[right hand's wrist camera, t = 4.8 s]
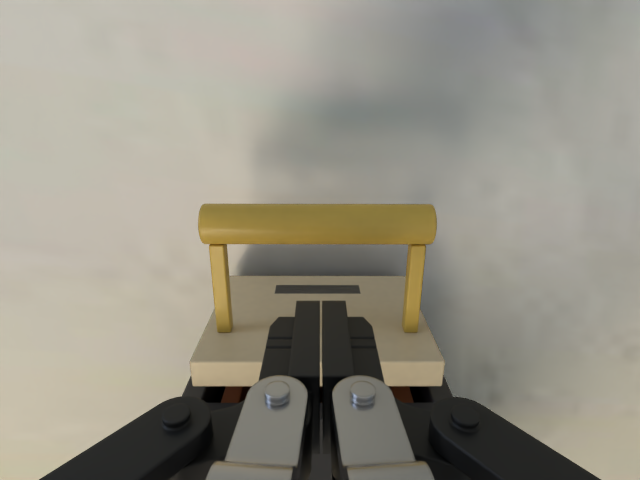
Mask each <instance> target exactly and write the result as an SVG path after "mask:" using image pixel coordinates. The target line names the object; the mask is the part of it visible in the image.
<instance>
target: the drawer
mask: <svg viewBox="0 0 640 480" xmlns="http://www.w3.org/2000/svg"><path fill="white" fill-rule="evenodd" d="M198 229H199V235H200V239H201V241H202V243H204V244H210V245H209V251H210V262H211V273H212V283H213V294H214V304H215V309H214V311H213V313H212V315H211V317H210V320H209V322H208V324H207V326H206V328H205V330H204V332H203V335H202V337H201V339H200V341H199V343H198V345H197V347H196V349H195V352H194V354H193V356H192V358H191V360H190V369H191V377H192V385H193V386H226V387H225V391H224V394H223V397H222V400H221V403H240V402H242V401H244V400H245V399H246V396H247V393H248V391H249V389H250V388H251V387H252V386H253V385H254V384H255V383H256V382H258V381H259V376H260V371H261V367H262V362H263V357H264V352H265V349H266V343H267V339H268V333H269V328H270V326H271V325H272V324H273V322H274V321H275V320H276V319H277V318H278V317H295V309H296V301H320V403H322V301H346V308H347V316H348V317H364V318H365V319H366V320H367V321H368V322H369V323H370V324H371V325H372V327H373V332H374V337H375V341H376V346H377V350H378V355H379V360H380V364H381V369H382V373H383V378H384V382H385V384H386V385H387V386H388V387H389V388H390V389H391V391H392V393H393V396H394V397H395V398H397V399H398V400H399V401H401V402H403V403H414V401H413V398H412V395H411V391H410V388H409V386H442V381H443V373H444V365H445V361H444V359H443V357H442V355H441V352H440V350H439V348H438V346H437V344H436V342H435V340H434V337H433V335H432V333H431V331H430V329H429V327H428V325H427V322H426V320H425V318H424V316H423V314H422V312H421V310H420V303H421V293H422V282H423V272H424V262H425V252H426V246H425V244H432V243H433V241H434V239H435V236H436V229H437V218H436V212H435V209H434V206H433V205H431V204H203V205H202V206H201V208H200V212H199V218H198ZM227 244H408V255H407V268H406V277H405V276H230V277H229V267H228V254H227Z"/></svg>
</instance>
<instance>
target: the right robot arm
mask: <svg viewBox="0 0 640 480" xmlns="http://www.w3.org/2000/svg"><path fill="white" fill-rule="evenodd" d="M322 433H323V454H331V480H601V479H599V478H597V477H596V476H594V475H593V474H591V473H589V472H588V471H586V470H585V469H583V468H581V467H580V466H578V465H577V464H575V463H573V462H572V461H570V460H569V459H567V458H566V457H564V456H562V455H561V454H559V453H558V452H556V451H554V450H553V449H551V448H550V447H548V446H546V445H545V444H543V443H542V442H540V441H538V440H537V439H535V438H534V437H532V436H531V435H529V434H527V433H526V432H524V431H523V430H521V429H519V428H518V427H516V426H515V425H513V424H511V423H510V422H508V421H507V420H505V419H503V418H502V417H500V416H499V415H497V414H495V413H494V412H492V411H491V410H489V409H488V408H486V407H484V406H483V405H481V404H479V403H477V402H475V401H472V400H469V399H466V398H460V397H449V398H444V399H441V400H439V401H438V402H436V403H435V404H434V406H433V407H432V409H431V411H429V410H425V409H421V408H417V407H414V406H410V405H408V404H405V403H403V402H401V401H399V400H398V399H397V398H395V397H394V396H393V393H392V391H391V389H390V388H389V387H388V386H387V385H386V384H385V382H384V378H383V373H382V369H381V364H380V360H379V355H378V350H377V346H376V341H375V337H374V332H373V327H372V325H371V324H370V323H369V322H368V321H367V320H366V319H365V318H364V317H348V316H347V308H346V301H322ZM312 454H320V301H296V309H295V317H278V318H277V319H276V320H275V321H274V322H273V324H272V325H271V326H270V328H269V333H268V339H267V343H266V349H265V352H264V357H263V362H262V367H261V371H260V376H259V381H258V382H256V383H255V384H254V385H253V386H252V387H251V388H250V389H249V391H248V393H247V396H246V399H245V400H244V401H242V402H240V403H238V404H236V405H233V406H230V407H226V408H222V409H218V410H214V411H211V410H210V407H209V405H208V404H207V403H206V402H205V401H204V400H202V399H200V398H197V397H192V396H182V397H176V398H172V399H169V400H167V401H164V402H162V403H161V404H159V405H157V406H156V407H154V408H152V409H151V410H149V411H148V412H146V413H145V414H143V415H141V416H140V417H138V418H137V419H135V420H133V421H132V422H130V423H129V424H127V425H125V426H124V427H122V428H121V429H119V430H117V431H116V432H114V433H113V434H111V435H110V436H108V437H106V438H105V439H103V440H102V441H100V442H98V443H97V444H95V445H94V446H92V447H90V448H89V449H87V450H86V451H84V452H82V453H81V454H79V455H78V456H76V457H74V458H73V459H71V460H70V461H68V462H67V463H65V464H63V465H62V466H60V467H59V468H57V469H55V470H54V471H52V472H51V473H49V474H47V475H46V476H44V477H43V478H41V479H39V480H309V476H310V473H311V465H312Z"/></svg>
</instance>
